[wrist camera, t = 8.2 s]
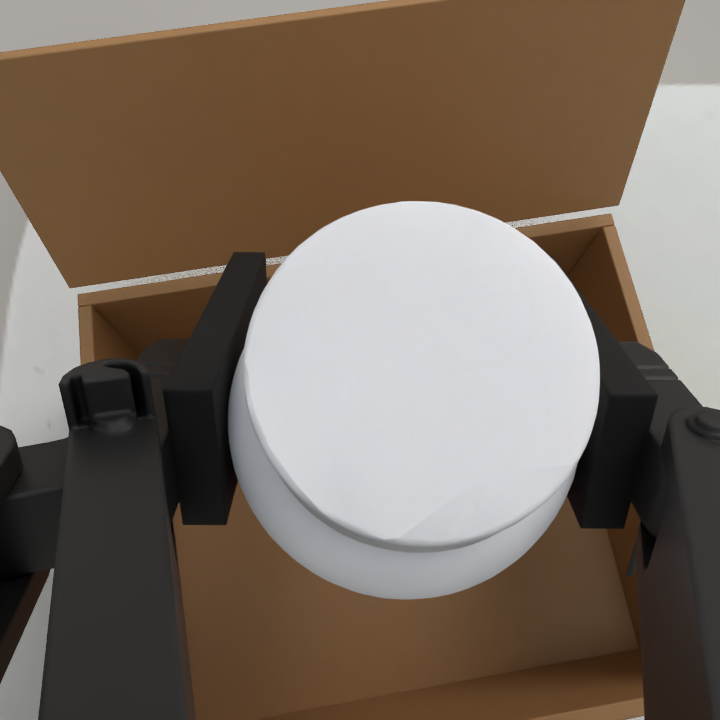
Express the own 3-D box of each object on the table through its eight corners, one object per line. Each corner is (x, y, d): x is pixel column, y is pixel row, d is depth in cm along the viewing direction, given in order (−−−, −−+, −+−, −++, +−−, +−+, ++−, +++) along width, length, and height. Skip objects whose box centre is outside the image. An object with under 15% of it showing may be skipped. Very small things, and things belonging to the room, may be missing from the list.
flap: (-62, 67, 15) (-59, 58, 15) (69, 288, 21) (70, 280, 21) (697, -35, 16) (690, -41, 16) (619, 205, 22) (614, 198, 22)
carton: (176, 745, 24) (100, 819, 17) (147, 361, 29) (76, 293, 22) (648, 657, 25) (762, 693, 18) (551, 297, 30) (611, 212, 22)
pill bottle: (374, 328, 20) (397, 75, 10) (534, 460, 19) (756, 336, 9) (232, 481, 19) (79, 380, 8) (395, 634, 18) (457, 739, 7)
